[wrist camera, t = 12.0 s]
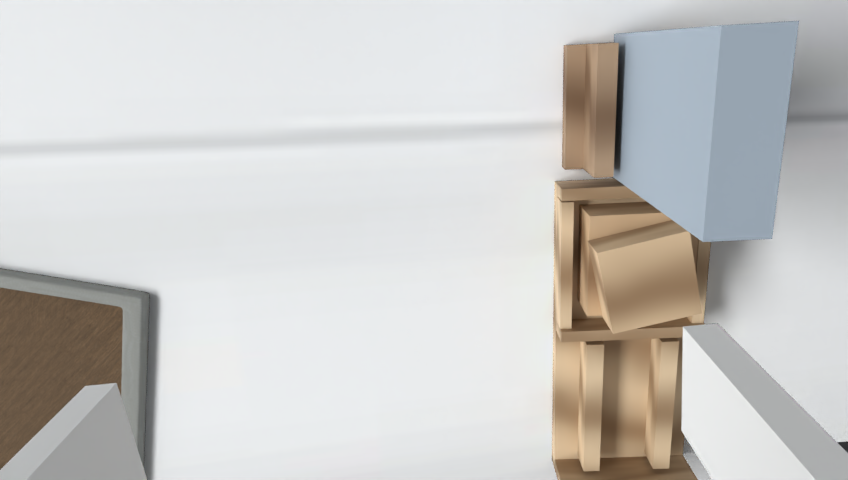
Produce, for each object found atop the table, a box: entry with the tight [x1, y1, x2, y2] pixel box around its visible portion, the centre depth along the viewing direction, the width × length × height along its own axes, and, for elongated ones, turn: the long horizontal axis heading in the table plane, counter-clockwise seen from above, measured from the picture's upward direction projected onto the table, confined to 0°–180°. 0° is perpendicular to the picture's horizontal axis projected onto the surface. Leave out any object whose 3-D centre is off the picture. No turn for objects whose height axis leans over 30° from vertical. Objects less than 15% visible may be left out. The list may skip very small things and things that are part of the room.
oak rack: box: [552, 178, 711, 480], centre depth 42 cm, size 23×10×7 cm, turn 3°
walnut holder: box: [562, 43, 619, 178], centre depth 39 cm, size 8×9×4 cm
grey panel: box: [614, 21, 799, 242], centre depth 32 cm, size 9×3×15 cm, turn 3°
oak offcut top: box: [587, 220, 702, 334], centre depth 39 cm, size 6×6×2 cm
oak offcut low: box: [577, 201, 698, 316], centre depth 41 cm, size 7×7×3 cm
